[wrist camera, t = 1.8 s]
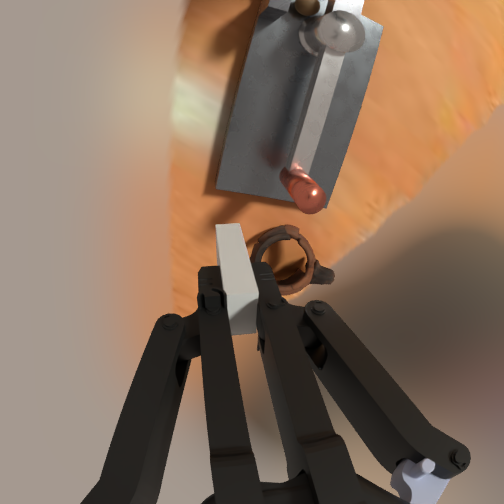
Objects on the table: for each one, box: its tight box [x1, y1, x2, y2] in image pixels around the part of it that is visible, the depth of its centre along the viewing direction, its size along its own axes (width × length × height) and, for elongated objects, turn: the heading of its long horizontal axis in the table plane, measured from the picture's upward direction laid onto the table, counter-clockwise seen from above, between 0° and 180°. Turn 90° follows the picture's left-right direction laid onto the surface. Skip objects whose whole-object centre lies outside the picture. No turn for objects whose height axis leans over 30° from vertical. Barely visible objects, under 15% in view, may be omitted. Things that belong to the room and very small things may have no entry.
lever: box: [279, 0, 365, 214], centre depth 23 cm, size 22×4×9 cm, turn 166°
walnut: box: [295, 0, 320, 16], centre depth 20 cm, size 3×3×3 cm
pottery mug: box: [250, 225, 335, 295], centre depth 39 cm, size 12×10×8 cm
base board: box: [215, 0, 383, 208], centre depth 26 cm, size 25×14×7 cm, turn 166°
